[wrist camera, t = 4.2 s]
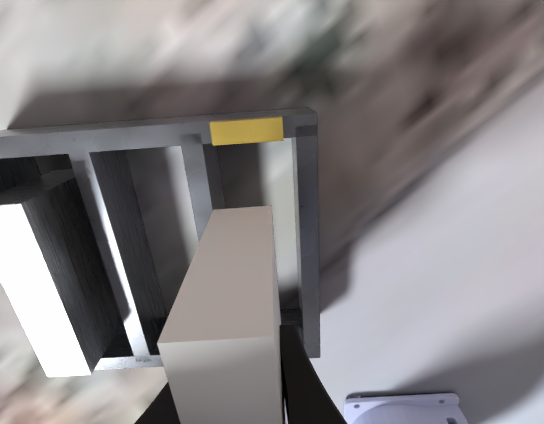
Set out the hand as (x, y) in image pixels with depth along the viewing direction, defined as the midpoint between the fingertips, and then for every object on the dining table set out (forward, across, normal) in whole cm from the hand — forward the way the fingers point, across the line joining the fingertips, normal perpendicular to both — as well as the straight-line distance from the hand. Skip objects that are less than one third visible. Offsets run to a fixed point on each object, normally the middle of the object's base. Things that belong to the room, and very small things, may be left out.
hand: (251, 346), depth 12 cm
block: (+3, 0, 0) cm, 3 cm away
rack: (+9, +5, -1) cm, 10 cm away
